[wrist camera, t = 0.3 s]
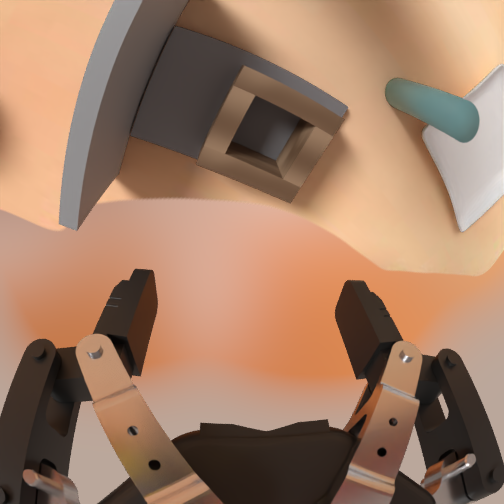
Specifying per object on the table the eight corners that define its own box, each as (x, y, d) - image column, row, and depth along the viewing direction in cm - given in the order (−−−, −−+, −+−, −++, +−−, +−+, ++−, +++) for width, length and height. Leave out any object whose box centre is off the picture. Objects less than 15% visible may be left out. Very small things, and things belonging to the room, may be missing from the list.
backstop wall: (181, -21, 16) (151, -60, 7) (198, -16, 17) (178, -56, 8) (104, 168, 29) (58, 224, 20) (118, 173, 30) (77, 230, 21)
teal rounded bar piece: (395, 71, 24) (464, 91, 14) (417, 91, 25) (484, 119, 16) (379, 96, 26) (443, 125, 17) (402, 114, 27) (465, 151, 18)
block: (242, 64, 23) (244, 65, 19) (327, 108, 26) (344, 119, 22) (201, 147, 28) (195, 164, 24) (282, 182, 31) (290, 203, 28)
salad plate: (490, 57, 20) (506, 61, 17) (519, 159, 30) (530, 168, 27) (405, 124, 28) (420, 133, 26) (451, 223, 39) (461, 235, 36)
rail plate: (177, 26, 20) (175, 25, 19) (345, 105, 27) (348, 107, 26) (132, 133, 27) (130, 135, 26) (288, 194, 34) (290, 198, 33)
